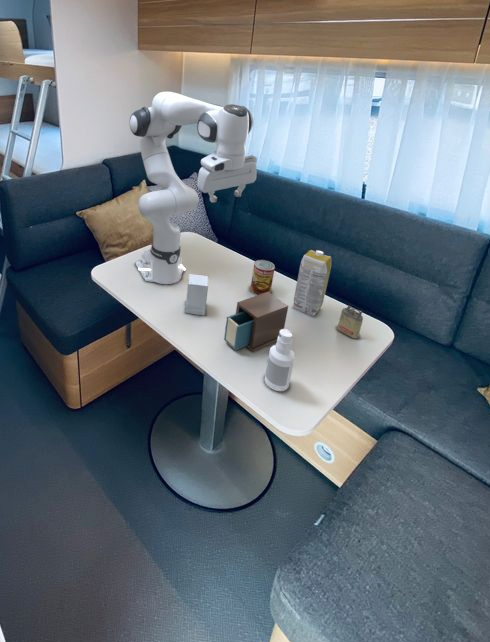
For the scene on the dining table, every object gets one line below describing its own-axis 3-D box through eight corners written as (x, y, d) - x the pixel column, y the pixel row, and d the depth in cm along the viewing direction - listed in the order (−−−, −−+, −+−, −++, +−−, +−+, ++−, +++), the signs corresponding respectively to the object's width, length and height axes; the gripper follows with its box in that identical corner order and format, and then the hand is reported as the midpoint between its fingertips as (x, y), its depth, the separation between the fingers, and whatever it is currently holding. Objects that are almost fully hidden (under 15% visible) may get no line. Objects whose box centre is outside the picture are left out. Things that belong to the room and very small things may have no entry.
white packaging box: (205, 316, 149) (208, 286, 145) (184, 313, 151) (187, 283, 146) (205, 304, 156) (208, 275, 152) (186, 301, 157) (188, 273, 153)
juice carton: (322, 309, 155) (335, 253, 146) (314, 319, 149) (327, 261, 141) (298, 299, 161) (309, 245, 152) (290, 308, 155) (301, 252, 147)
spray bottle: (261, 374, 124) (269, 325, 117) (282, 373, 124) (292, 324, 118) (269, 392, 117) (279, 341, 111) (292, 391, 118) (303, 340, 111)
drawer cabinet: (232, 333, 141) (236, 301, 136) (261, 321, 147) (267, 290, 143) (252, 351, 133) (258, 318, 128) (283, 338, 139) (289, 306, 134)
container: (223, 339, 136) (226, 317, 133) (255, 327, 142) (258, 305, 139) (235, 350, 132) (238, 327, 128) (267, 337, 138) (270, 314, 135)
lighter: (335, 329, 144) (341, 305, 141) (340, 325, 147) (346, 301, 143) (355, 340, 139) (361, 315, 136) (360, 335, 141) (367, 311, 138)
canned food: (249, 293, 164) (253, 267, 160) (251, 283, 171) (255, 258, 166) (269, 298, 161) (274, 271, 157) (271, 287, 168) (275, 262, 164)
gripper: (251, 150, 132) (245, 189, 138) (196, 160, 125) (193, 200, 131) (263, 157, 127) (257, 196, 133) (207, 168, 120) (203, 209, 126)
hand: (225, 198), depth 132 cm, fingers open, 8 cm apart
